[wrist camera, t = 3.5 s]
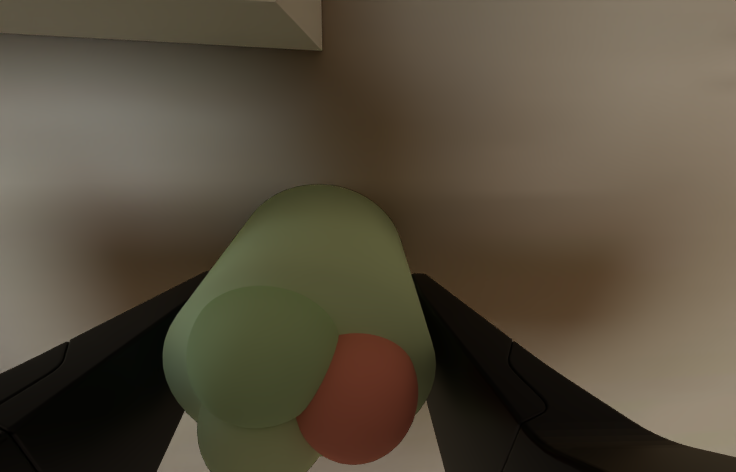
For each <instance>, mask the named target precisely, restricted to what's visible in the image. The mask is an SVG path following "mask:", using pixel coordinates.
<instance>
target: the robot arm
mask: <svg viewBox="0 0 736 472" xmlns="http://www.w3.org/2000/svg"><path fill="white" fill-rule="evenodd" d="M208 273H209V271H206V272H204V273H202V274H200V275H198V276H196V277H194V278H192V279H190V280H188V281H186V282H184V283H182V284H180V285H178V286H176V287H174V288H172V289H170V290H168V291H166V292H164V293H162V294H160V295H158V296H156V297H154V298H152V299H150V300H148V301H146V302H144V303H142V304H140V305H138V306H136V307H134V308H132V309H130V310H128V311H126V312H124V313H122V314H120V315H118V316H116V317H114V318H112V319H110V320H108V321H106V322H104V323H102V324H100V325H98V326H96V327H94V328H92V329H90V330H88V331H86V332H85V333H83V334H81V335H79V336H77V337H75V338H73V339H71V340H70V341H69V342H64V343H62V344H60V345H59V346H57V347H55V348H53V349H51V350H49V351H47V352H45V353H43V354H41V355H39V356H36V357H34V358H32V359H30V360H28V361H26V362H24V363H22V364H20V365H18V366H16V367H14V368H12V369H10V370H7V371H5V372H3V373H1V374H0V472H157V470H158V468H159V465H160V463H161V461H162V459H163V457H164V455H165V452H166V450H167V448H168V446H169V444H170V442H171V439H172V437H173V435H174V433H175V431H176V428H177V426H178V424H179V422H180V420H181V418H182V415H183V413H184V411H185V410H184V409H183V408H182V407H181V405H180V404H179V403H178V402H177V400H176V398H175V397H174V395H173V394H172V392H171V390H170V388H169V385H168V383H167V381H166V377H165V373H164V369H163V355H162V354H163V347H164V341H165V338H166V335H167V333H168V330H169V327H170V326H171V324H172V322H173V321H174V319H175V317H176V316H177V314H178V313H179V311H180V310H181V309H182V307H183V306H184V305H185V303H186V302H187V301H188V299H189V298H190V297H191V295H192V294H193V293H194V291H195V290H196V289H197V287H198V286H199V285H200V283H201V282H202V281H203V279H204V278H205V277H206V275H207V274H208ZM411 276H412V279H413V282H414V285H415V289H416V292H417V295H418V298H419V301H420V305H421V308H422V311H423V314H424V318H425V321H426V324H427V327H428V331H429V334H430V337H431V340H432V344H433V348H434V352H435V360H436V370H435V379H434V382H433V385H432V389H431V391H430V393H429V395H428V397H427V400H426V401H427V404H428V408H429V412H430V416H431V420H432V423H433V427H434V431H435V435H436V439H437V442H438V446H439V450H440V454H441V458H442V461H443V465H444V469H445V472H736V457H732V456H728V455H724V454H719V453H715V452H711V451H706V450H702V449H698V448H693V447H690V446H686V445H682V444H679V443H676V442H674V441H671V440H668V439H666V438H663V437H661V436H659V435H656V434H654V433H653V432H651V431H649V430H647V429H645V428H643V427H641V426H640V425H638V424H636V423H635V422H633V421H632V420H630V419H628V418H627V417H625V416H624V415H622V414H621V413H619V412H618V411H616V410H615V409H613V408H612V407H610V406H608V405H607V404H605V403H604V402H602V401H601V400H599V399H598V398H596V397H595V396H593V395H591V394H590V393H588V392H587V391H585V390H584V389H582V388H581V387H579V386H578V385H576V384H575V383H573V382H571V381H570V380H568V379H567V378H565V377H564V376H563V375H561V374H560V373H558V372H557V371H555V370H554V369H552V368H551V367H549V366H548V365H546V364H545V363H543V362H542V361H541V360H539V359H538V358H537V357H535V356H534V355H532V354H531V353H530V352H528V351H527V350H526V349H524V348H523V347H522V346H520V345H519V344H518V343H516V342H512V339H511V338H509V337H508V336H507V335H505V334H504V333H503V332H501V331H500V330H499V329H498V328H496V327H495V326H494V325H492V324H491V323H490V322H488V321H487V320H486V319H484V318H483V317H482V316H480V315H479V314H478V313H476V312H475V311H474V310H472V309H471V308H470V307H468V306H467V305H466V304H464V303H463V302H462V301H460V300H459V299H458V298H456V297H455V296H454V295H452V294H451V293H450V292H448V291H447V290H446V289H445V288H443V287H442V286H441V285H439V284H438V283H437V282H435V281H434V280H433V279H431V278H430V277H429V276H427V275H426V274H411Z"/></svg>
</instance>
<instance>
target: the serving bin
mask: <svg viewBox="0 0 736 472" xmlns="http://www.w3.org/2000/svg"><path fill="white" fill-rule="evenodd" d="M0 33H8V34H26V35H44V36H62V37H80V38H98V39H117V40H135V41H153V42H171V43H189V44H208V45H226V46H244V47H262V48H280V49H299V50H317V51H322V5H321V0H0Z"/></svg>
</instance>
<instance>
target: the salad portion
mask: <svg viewBox="0 0 736 472" xmlns="http://www.w3.org/2000/svg"><path fill="white" fill-rule="evenodd" d="M162 355H163V369H164V373H165V377H166V381H167V383H168V385H169V388H170V390H171V392H172V394H173V395H174V397H175V398H176V400H177V402H178V403H179V404H180V405H181V407H182V408H183V409H184V410H185V411H186V412H187V414H188V415H190V416H191V417H192V418H193V419H194V420H195V421H196V422H197V423H198V424H197V436H198V444H199V448H200V452H201V455H202V457H203V460H204V462H205V464H206V466H207V467H208V469H209V470H210V471H211V472H307V471H308V470H309V469H310V468H311V467H312V465H313V464H314V463H315V462H316V460H317V459H318V458H319V456H324V457H326V458H328V459H330V460H332V461H335V462H338V463H342V464H349V465H357V464H365V463H369V462H372V461H375V460H377V459H379V458H381V457H383V456H385V455H386V454H388V453H389V452H391V451H392V450H393V449H394V448H395V447H396V446H397V445H398V444H399V443H400V442H401V441H402V439H403V438H404V437H405V435H406V434H407V432H408V430H409V428H410V426H411V424H412V422H413V419H414V416H415V414H416V413H417V412H418V411H419V410H420V408H421V407H422V406H423V404H424V403H425V401H426V400H427V397H428V395H429V393H430V391H431V389H432V385H433V382H434V379H435V370H436V360H435V352H434V348H433V344H432V340H431V337H430V334H429V331H428V327H427V324H426V321H425V318H424V314H423V311H422V308H421V305H420V301H419V298H418V295H417V292H416V289H415V285H414V282H413V279H412V276H411V272H410V269H409V266H408V263H407V259H406V256H405V253H404V250H403V246H402V243H401V240H400V237H399V234H398V232H397V230H396V228H395V226H394V224H393V223H392V221H391V220H390V218H389V217H388V216H387V215H386V213H385V212H384V211H383V210H382V209H381V208H380V207H378V206H377V205H376V204H375V203H374V202H372V201H371V200H369V199H368V198H366V197H364V196H362V195H361V194H359V193H357V192H354V191H351V190H349V189H346V188H342V187H338V186H333V185H322V184H317V185H304V186H298V187H294V188H291V189H288V190H285V191H283V192H281V193H278V194H276V195H274V196H273V197H271V198H270V199H268V200H267V201H265V202H264V203H263V204H262V205H261V206H260V207H258V208H257V210H256V211H255V212H254V213H253V214H252V215H251V217H250V218H249V219H248V221H247V222H246V223H245V225H244V226H243V227H242V229H241V230H240V231H239V233H238V234H237V235H236V237H235V238H234V239H233V241H232V242H231V243H230V245H229V246H228V247H227V249H226V250H225V251H224V253H223V254H222V255H221V257H220V258H219V259H218V261H217V262H216V263H215V265H214V266H213V267H212V269H211V270H210V271H209V273H208V274H207V275H206V277H205V278H204V279H203V281H202V282H201V283H200V285H199V286H198V287H197V289H196V290H195V291H194V293H193V294H192V295H191V297H190V298H189V299H188V301H187V302H186V303H185V305H184V306H183V307H182V309H181V310H180V311H179V313H178V314H177V316H176V317H175V319H174V321H173V322H172V324H171V326H170V327H169V330H168V333H167V335H166V338H165V341H164V347H163V354H162Z"/></svg>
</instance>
